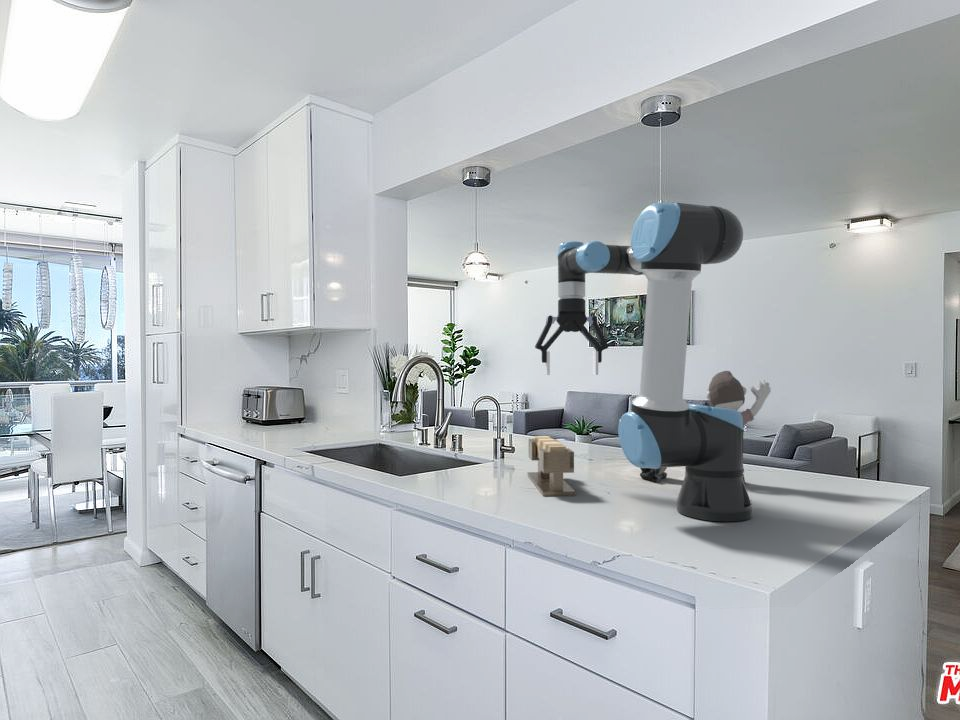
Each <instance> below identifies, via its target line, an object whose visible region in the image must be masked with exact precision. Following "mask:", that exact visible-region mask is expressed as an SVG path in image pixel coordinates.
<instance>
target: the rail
mask: <svg viewBox="0 0 960 720" xmlns="http://www.w3.org/2000/svg"><path fill="white" fill-rule="evenodd" d="M533 439H534V441H535V442H536V456H537V457H538V458H539V449H544V450H545V451H547V452H566V448H567V447H566V445H565V444H562V443H560V441H559V442H557V441H558V440H557V439H556V440H557V441H556V440H554V439H555V438H553V437H551V436H550V435H539V436H538V435H537V436H535V435H534V437H533Z"/></svg>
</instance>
